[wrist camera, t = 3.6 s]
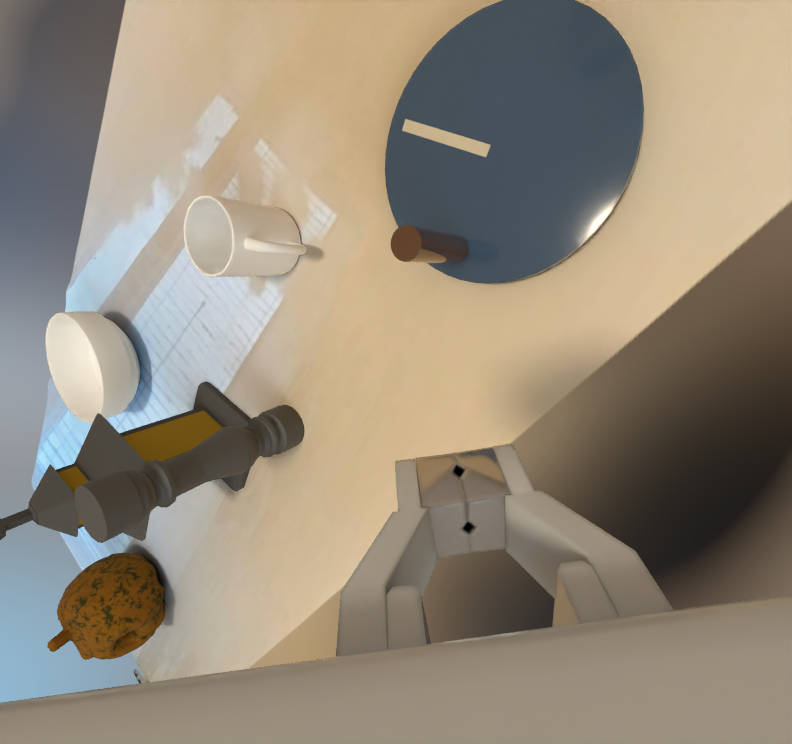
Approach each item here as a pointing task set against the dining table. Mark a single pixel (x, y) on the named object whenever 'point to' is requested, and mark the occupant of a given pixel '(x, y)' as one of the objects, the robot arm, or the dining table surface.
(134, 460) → the lantern
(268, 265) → the cup
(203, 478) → the candle holder
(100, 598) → the decorative pumpkin
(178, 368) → the dining table surface
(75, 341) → the bowl
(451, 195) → the blue disc with peg
